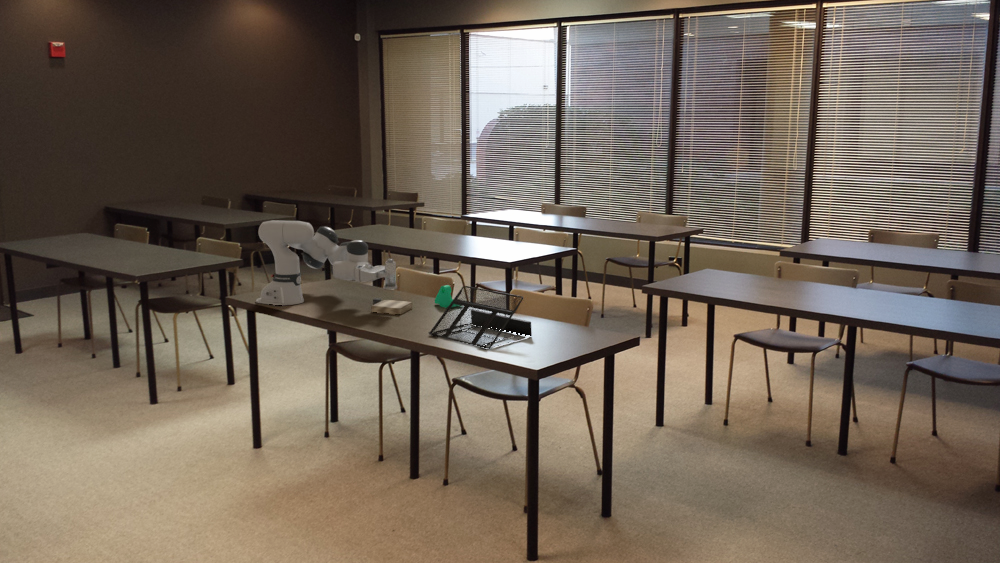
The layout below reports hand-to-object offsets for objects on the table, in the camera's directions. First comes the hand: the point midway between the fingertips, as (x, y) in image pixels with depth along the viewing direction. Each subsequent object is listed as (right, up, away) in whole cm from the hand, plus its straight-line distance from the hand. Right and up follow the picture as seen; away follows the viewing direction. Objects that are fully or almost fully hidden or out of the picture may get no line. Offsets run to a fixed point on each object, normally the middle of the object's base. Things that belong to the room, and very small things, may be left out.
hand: (392, 274), depth 371 cm
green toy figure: (+25, -15, +17) cm, 34 cm away
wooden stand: (-1, -17, +6) cm, 18 cm away
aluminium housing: (-1, -6, +1) cm, 7 cm away
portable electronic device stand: (+41, -26, -38) cm, 61 cm away
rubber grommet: (-9, -15, +16) cm, 23 cm away
